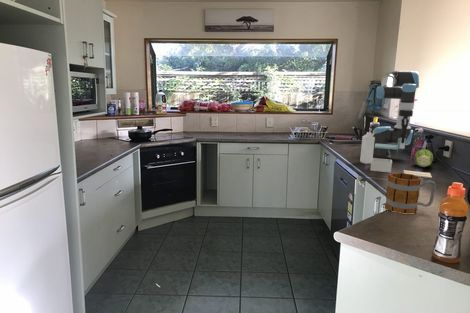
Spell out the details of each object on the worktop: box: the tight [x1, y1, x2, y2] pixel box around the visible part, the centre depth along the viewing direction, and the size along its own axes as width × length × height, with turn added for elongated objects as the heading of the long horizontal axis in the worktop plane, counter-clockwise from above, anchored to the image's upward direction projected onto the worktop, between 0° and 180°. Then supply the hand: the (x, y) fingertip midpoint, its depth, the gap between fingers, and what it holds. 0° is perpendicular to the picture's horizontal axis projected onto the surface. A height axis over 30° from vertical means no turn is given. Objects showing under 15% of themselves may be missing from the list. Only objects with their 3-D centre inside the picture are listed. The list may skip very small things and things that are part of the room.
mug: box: [384, 172, 437, 214], centre depth 151 cm, size 20×14×15 cm
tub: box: [369, 157, 393, 174], centre depth 223 cm, size 10×12×7 cm
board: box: [403, 169, 433, 179], centre depth 216 cm, size 11×15×1 cm
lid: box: [375, 138, 406, 151], centre depth 219 cm, size 11×17×6 cm, turn 66°
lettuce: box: [413, 148, 434, 168], centre depth 237 cm, size 12×21×11 cm, turn 152°
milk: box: [359, 131, 375, 164], centre depth 242 cm, size 6×6×22 cm
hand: (401, 147), depth 216 cm, fingers closed on lid, 4 cm apart
